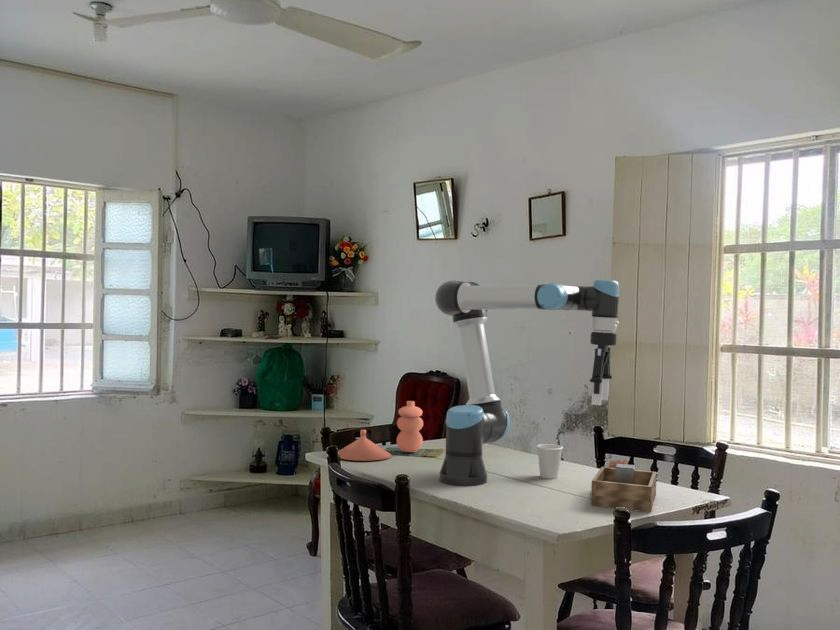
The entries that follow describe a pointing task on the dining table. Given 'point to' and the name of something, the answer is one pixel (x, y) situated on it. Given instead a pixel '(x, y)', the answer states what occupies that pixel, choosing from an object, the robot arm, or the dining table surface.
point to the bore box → (624, 490)
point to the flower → (614, 463)
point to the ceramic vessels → (406, 439)
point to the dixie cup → (549, 460)
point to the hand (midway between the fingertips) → (599, 402)
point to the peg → (625, 474)
